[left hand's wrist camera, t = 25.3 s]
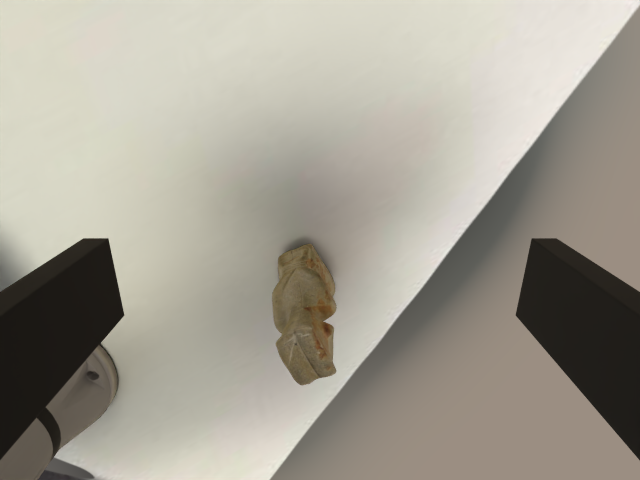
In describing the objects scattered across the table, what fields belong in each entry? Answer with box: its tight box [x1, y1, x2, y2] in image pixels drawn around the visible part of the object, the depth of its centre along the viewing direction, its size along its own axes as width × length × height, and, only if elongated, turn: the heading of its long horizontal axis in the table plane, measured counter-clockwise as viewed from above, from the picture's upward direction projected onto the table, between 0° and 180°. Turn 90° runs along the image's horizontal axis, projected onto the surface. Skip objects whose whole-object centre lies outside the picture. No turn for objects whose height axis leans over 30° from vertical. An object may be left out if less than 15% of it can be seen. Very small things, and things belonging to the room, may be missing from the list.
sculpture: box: [272, 244, 337, 385], centre depth 37 cm, size 6×7×15 cm
